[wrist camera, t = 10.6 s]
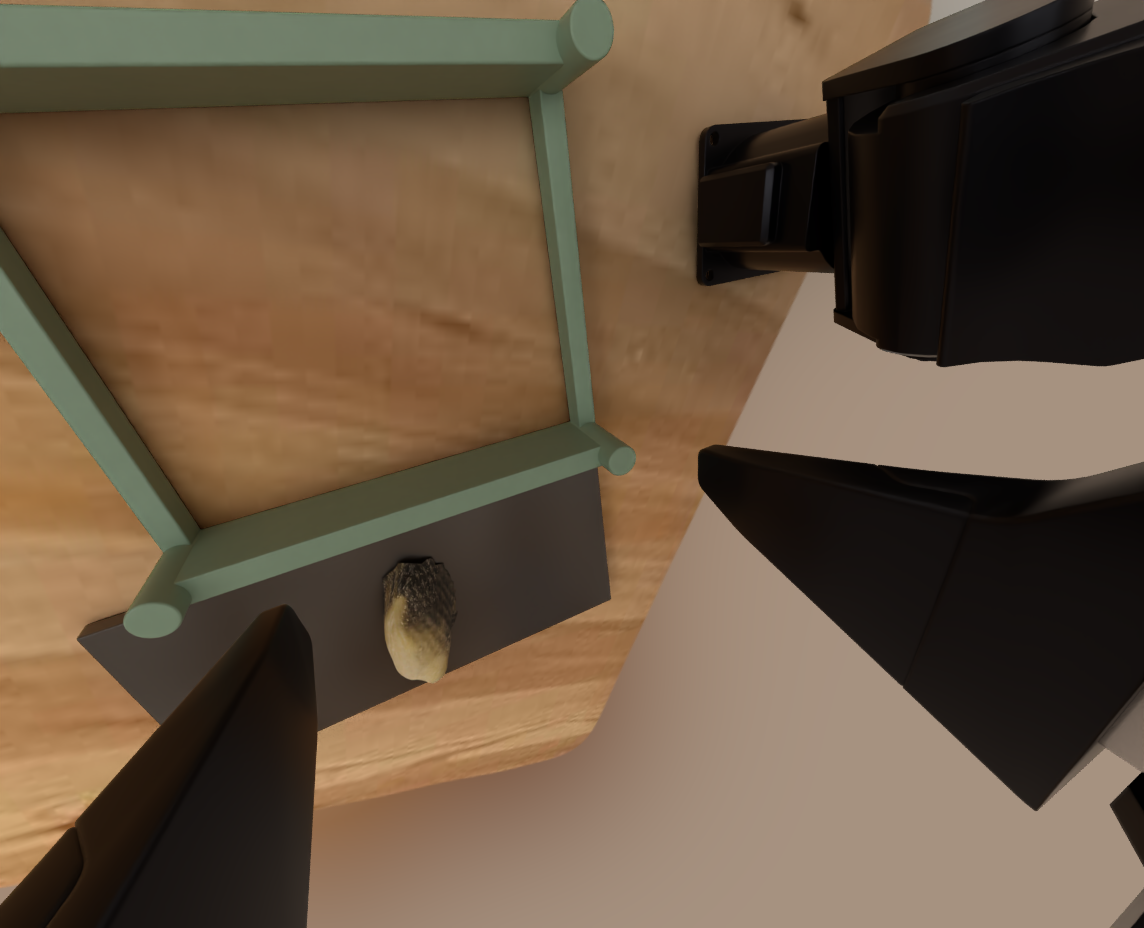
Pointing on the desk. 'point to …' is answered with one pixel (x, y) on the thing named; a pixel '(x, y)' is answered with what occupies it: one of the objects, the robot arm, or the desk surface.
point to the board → (356, 605)
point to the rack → (300, 76)
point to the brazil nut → (419, 619)
